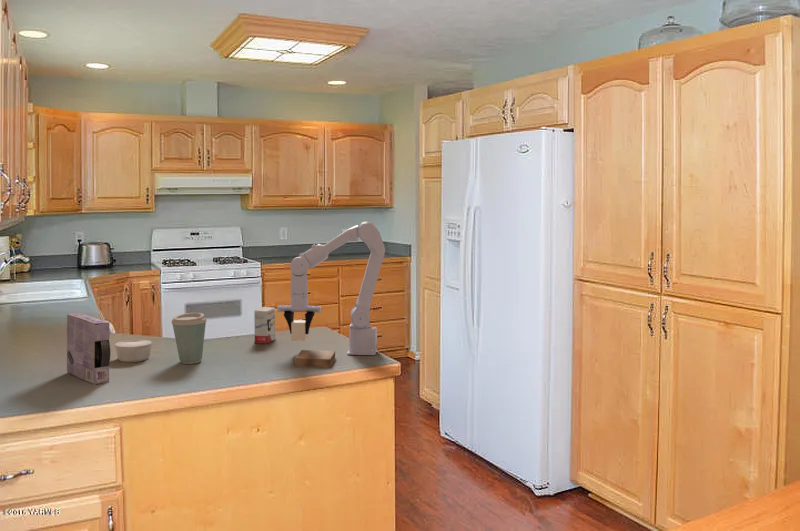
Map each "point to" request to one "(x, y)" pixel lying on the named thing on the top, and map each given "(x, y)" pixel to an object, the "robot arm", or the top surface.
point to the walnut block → (315, 358)
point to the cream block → (298, 330)
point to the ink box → (264, 325)
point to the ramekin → (133, 350)
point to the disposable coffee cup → (189, 336)
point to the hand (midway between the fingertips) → (299, 333)
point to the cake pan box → (88, 348)
